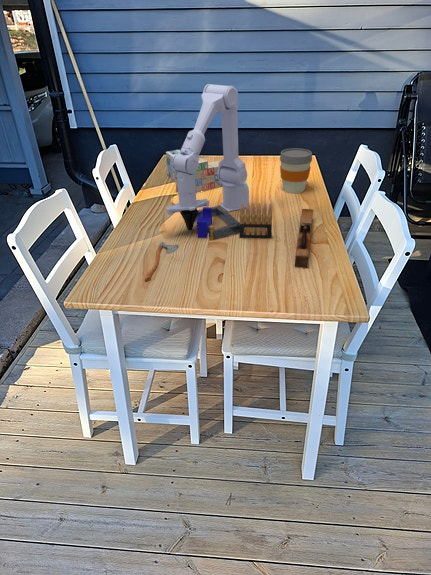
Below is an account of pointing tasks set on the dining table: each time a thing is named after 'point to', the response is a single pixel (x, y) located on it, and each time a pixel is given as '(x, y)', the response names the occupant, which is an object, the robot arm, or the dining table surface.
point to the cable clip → (204, 222)
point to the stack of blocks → (205, 176)
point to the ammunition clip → (256, 222)
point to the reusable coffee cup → (295, 169)
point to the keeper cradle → (226, 230)
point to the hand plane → (304, 239)
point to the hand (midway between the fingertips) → (189, 229)
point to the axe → (168, 250)
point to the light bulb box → (169, 159)
